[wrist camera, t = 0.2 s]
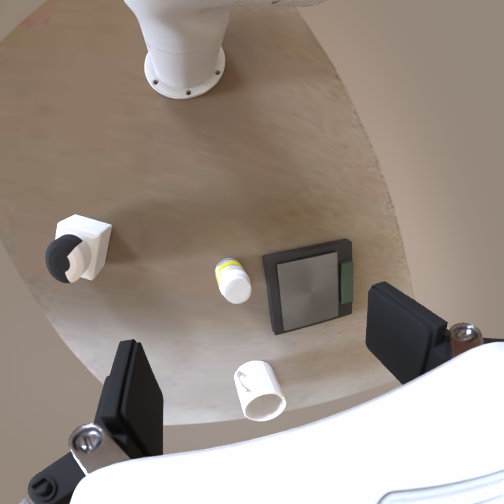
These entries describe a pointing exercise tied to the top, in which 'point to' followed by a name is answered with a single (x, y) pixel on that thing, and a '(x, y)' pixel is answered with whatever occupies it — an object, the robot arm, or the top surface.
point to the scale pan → (308, 289)
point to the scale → (339, 246)
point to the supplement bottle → (233, 281)
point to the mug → (259, 391)
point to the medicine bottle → (78, 249)
